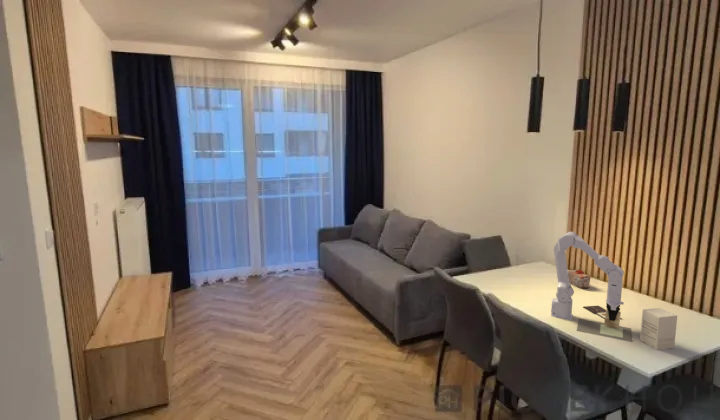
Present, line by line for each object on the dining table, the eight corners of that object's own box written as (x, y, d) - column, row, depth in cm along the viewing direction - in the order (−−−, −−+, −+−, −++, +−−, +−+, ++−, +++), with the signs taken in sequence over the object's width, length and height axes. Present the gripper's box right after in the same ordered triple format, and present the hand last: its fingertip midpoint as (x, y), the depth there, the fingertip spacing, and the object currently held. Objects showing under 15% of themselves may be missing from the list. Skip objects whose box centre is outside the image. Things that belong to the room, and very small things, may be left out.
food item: (591, 288, 246) (593, 273, 245) (580, 289, 245) (581, 274, 243) (575, 281, 259) (576, 266, 258) (565, 282, 258) (566, 267, 256)
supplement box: (656, 338, 181) (659, 307, 179) (674, 348, 173) (678, 315, 170) (639, 340, 180) (642, 308, 178) (656, 350, 171) (659, 317, 169)
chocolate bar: (598, 305, 219) (623, 319, 201) (598, 307, 219) (623, 321, 201) (583, 306, 218) (606, 320, 200) (582, 308, 218) (606, 322, 200)
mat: (576, 331, 189) (576, 330, 189) (578, 319, 203) (578, 318, 203) (632, 343, 178) (632, 341, 178) (631, 329, 191) (631, 328, 191)
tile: (604, 325, 194) (605, 310, 192) (604, 324, 195) (605, 308, 194) (618, 329, 190) (620, 313, 189) (618, 327, 192) (620, 311, 191)
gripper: (624, 298, 182) (622, 326, 184) (624, 289, 194) (621, 315, 196) (606, 296, 186) (604, 323, 188) (607, 286, 198) (604, 312, 200)
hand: (612, 319), depth 192 cm, fingers closed on tile, 2 cm apart
